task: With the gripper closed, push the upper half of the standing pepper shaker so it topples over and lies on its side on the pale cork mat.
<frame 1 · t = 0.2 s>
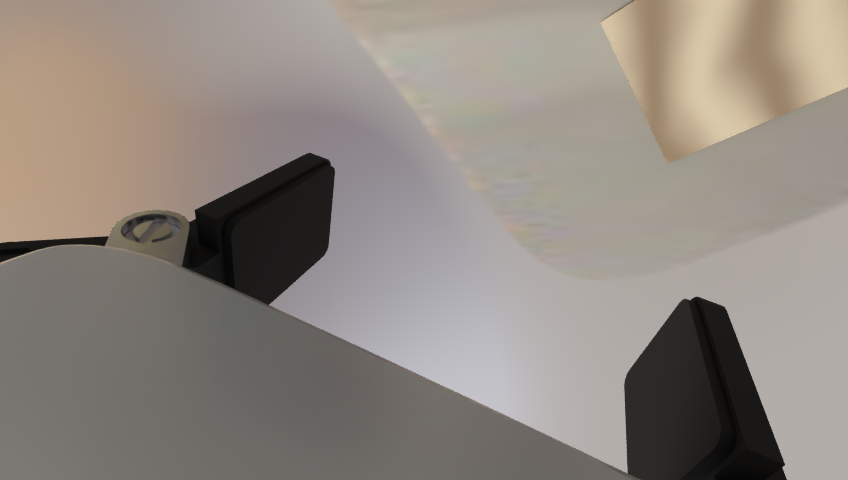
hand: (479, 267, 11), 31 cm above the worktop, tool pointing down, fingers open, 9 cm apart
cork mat: (766, 25, 30), on the worktop
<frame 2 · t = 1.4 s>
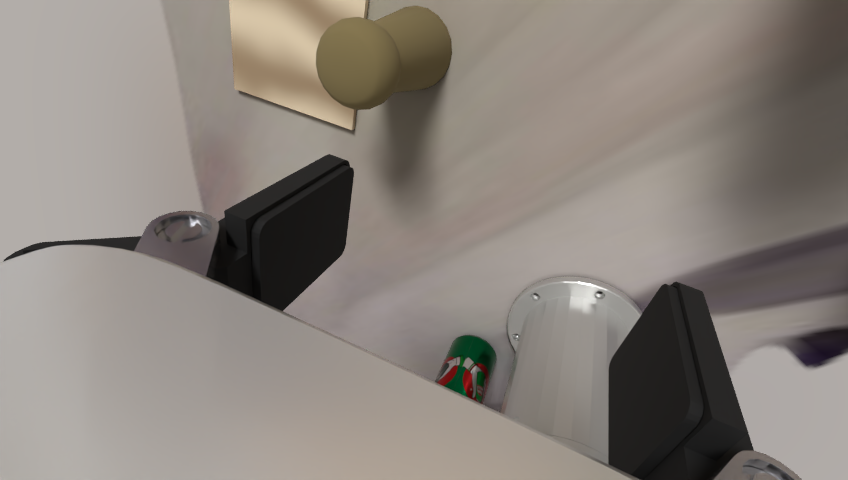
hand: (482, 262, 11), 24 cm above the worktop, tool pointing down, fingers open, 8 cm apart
pepper shaker: (416, 49, 33), on the worktop
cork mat: (296, 0, 34), on the worktop
soda can: (475, 348, 46), on the worktop
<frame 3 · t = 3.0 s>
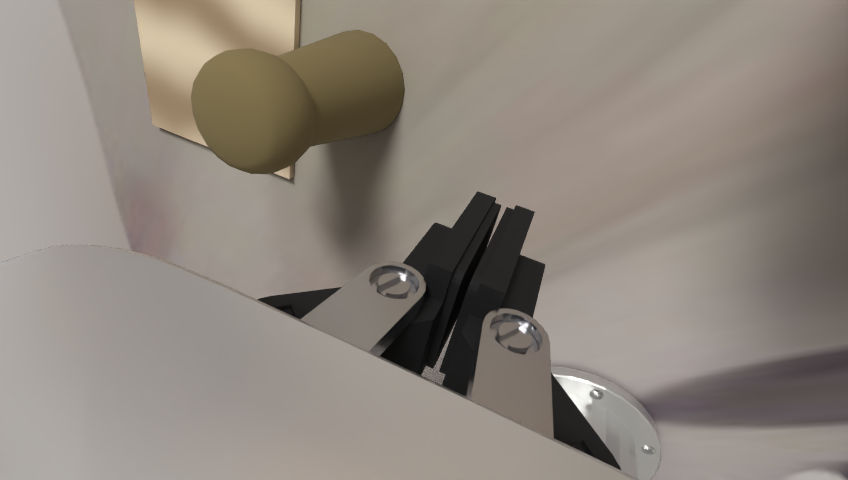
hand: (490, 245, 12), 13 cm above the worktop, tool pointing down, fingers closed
pepper shaker: (361, 84, 26), on the worktop
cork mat: (215, 21, 27), on the worktop
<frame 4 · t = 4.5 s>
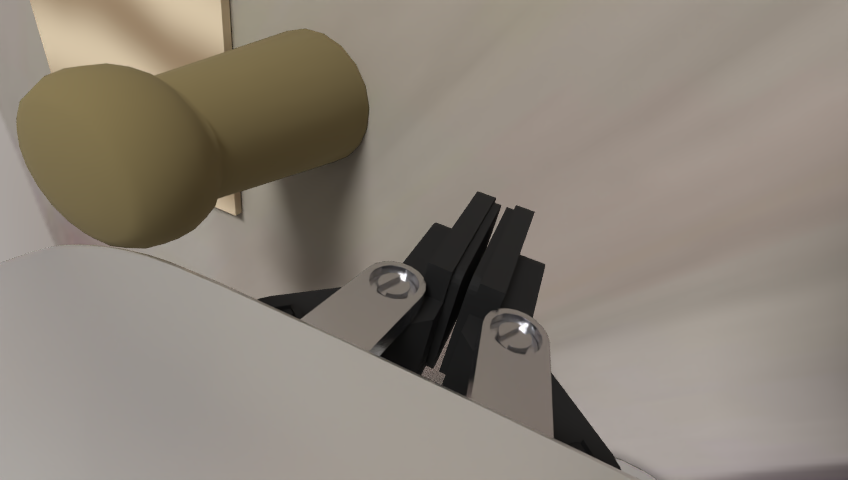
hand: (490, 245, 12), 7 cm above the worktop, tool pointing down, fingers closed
pepper shaker: (314, 99, 20), on the worktop
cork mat: (128, 19, 21), on the worktop
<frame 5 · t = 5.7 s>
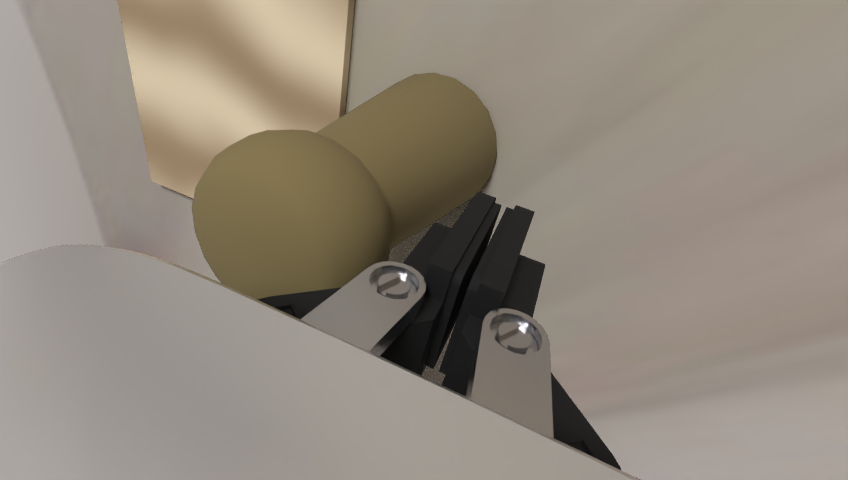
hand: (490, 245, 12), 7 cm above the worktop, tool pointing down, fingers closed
pepper shaker: (432, 144, 19), on the worktop, touching gripper
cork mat: (231, 57, 20), on the worktop
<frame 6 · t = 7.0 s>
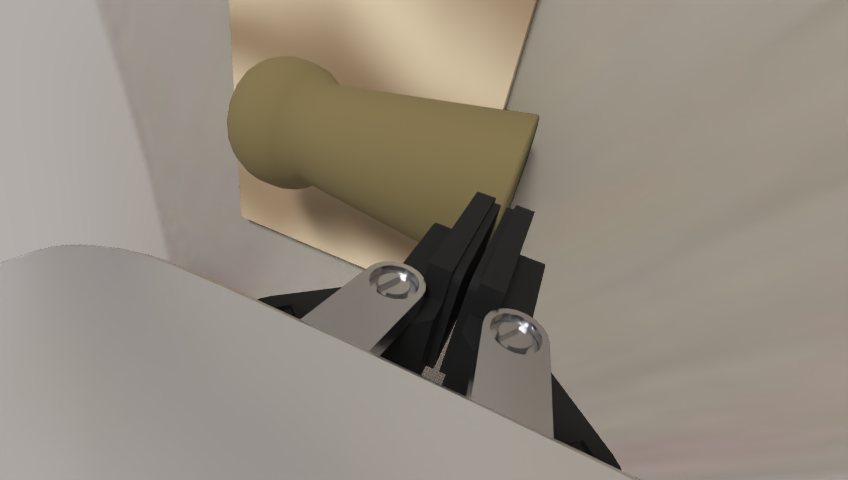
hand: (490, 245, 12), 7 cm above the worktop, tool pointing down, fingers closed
pepper shaker: (514, 200, 15), point 3 cm above the worktop, touching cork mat
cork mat: (358, 92, 19), on the worktop
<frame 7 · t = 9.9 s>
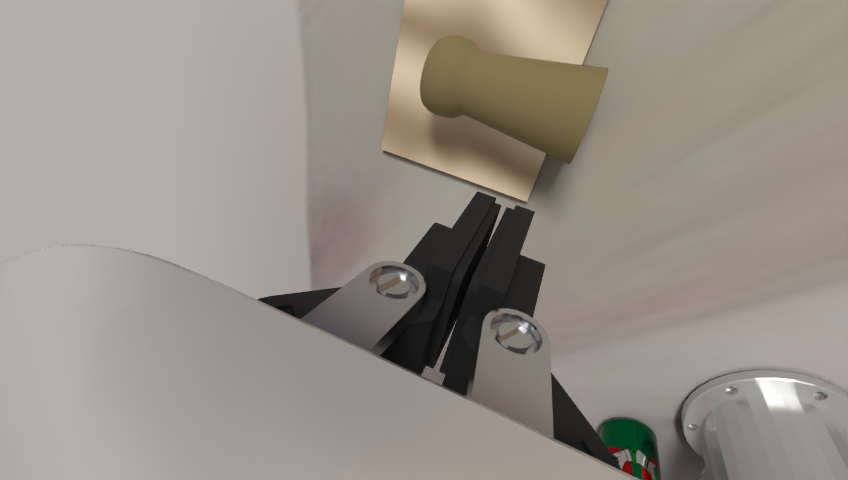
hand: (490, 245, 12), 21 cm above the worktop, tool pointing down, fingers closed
pepper shaker: (590, 119, 26), point 3 cm above the worktop, touching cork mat
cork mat: (483, 59, 30), on the worktop
soda can: (627, 430, 41), on the worktop
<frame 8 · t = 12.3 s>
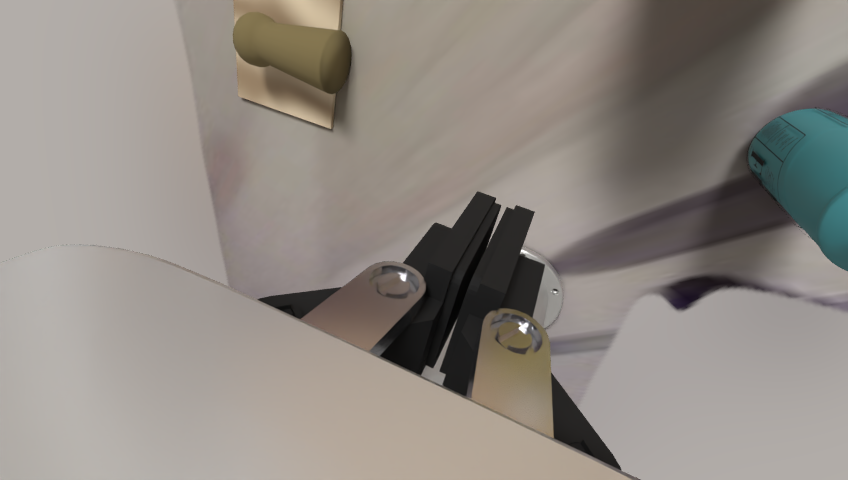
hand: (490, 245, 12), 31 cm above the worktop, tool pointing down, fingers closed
pepper shaker: (337, 63, 41), point 3 cm above the worktop, touching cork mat
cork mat: (286, 29, 45), on the worktop
beverage bottle: (789, 141, 34), on the worktop
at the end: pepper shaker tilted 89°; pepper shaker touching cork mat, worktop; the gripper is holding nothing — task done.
